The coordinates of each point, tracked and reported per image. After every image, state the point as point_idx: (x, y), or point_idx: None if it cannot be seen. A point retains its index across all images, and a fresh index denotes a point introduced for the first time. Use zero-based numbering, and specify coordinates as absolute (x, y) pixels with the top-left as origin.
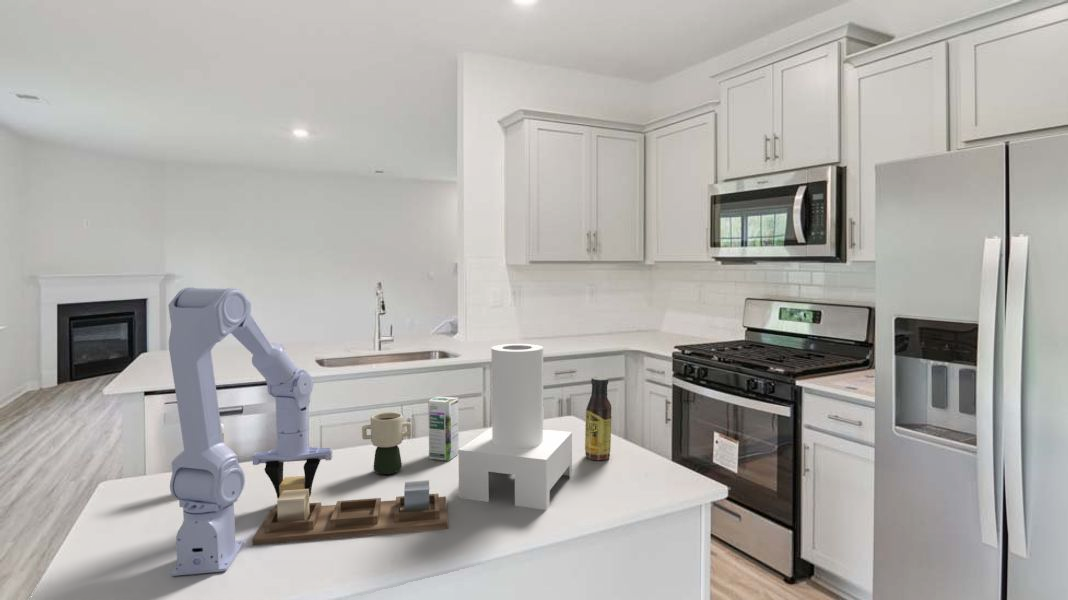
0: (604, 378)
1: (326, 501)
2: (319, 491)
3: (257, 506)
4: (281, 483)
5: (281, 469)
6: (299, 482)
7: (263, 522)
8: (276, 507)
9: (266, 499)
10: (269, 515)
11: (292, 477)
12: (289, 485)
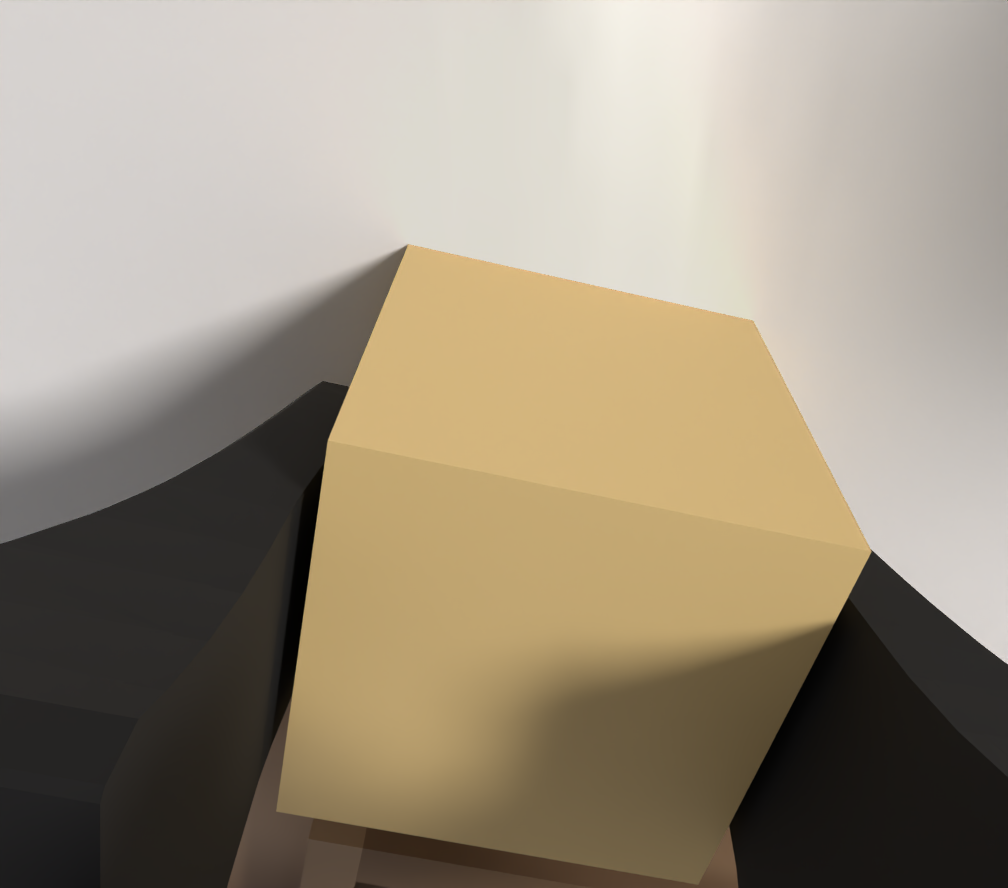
0: None
1: (959, 486)
2: (996, 22)
3: (18, 279)
4: (301, 739)
5: (205, 807)
6: (634, 807)
7: (230, 880)
8: (321, 875)
9: (80, 27)
10: (261, 774)
11: (510, 516)
12: (455, 837)
